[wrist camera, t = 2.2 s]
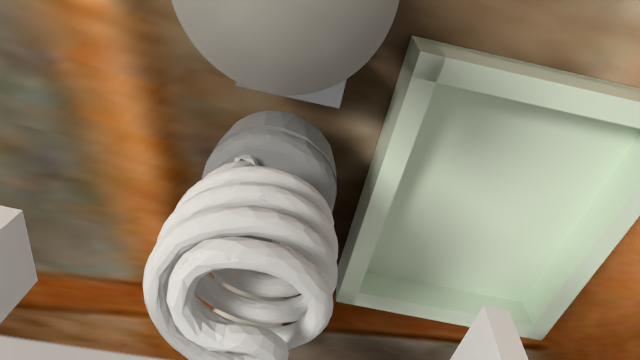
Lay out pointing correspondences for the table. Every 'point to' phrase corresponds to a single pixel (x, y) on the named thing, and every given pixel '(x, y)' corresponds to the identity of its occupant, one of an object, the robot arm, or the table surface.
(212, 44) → the grey capped cylinder
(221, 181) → the light bulb
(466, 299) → the tray
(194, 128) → the table surface
